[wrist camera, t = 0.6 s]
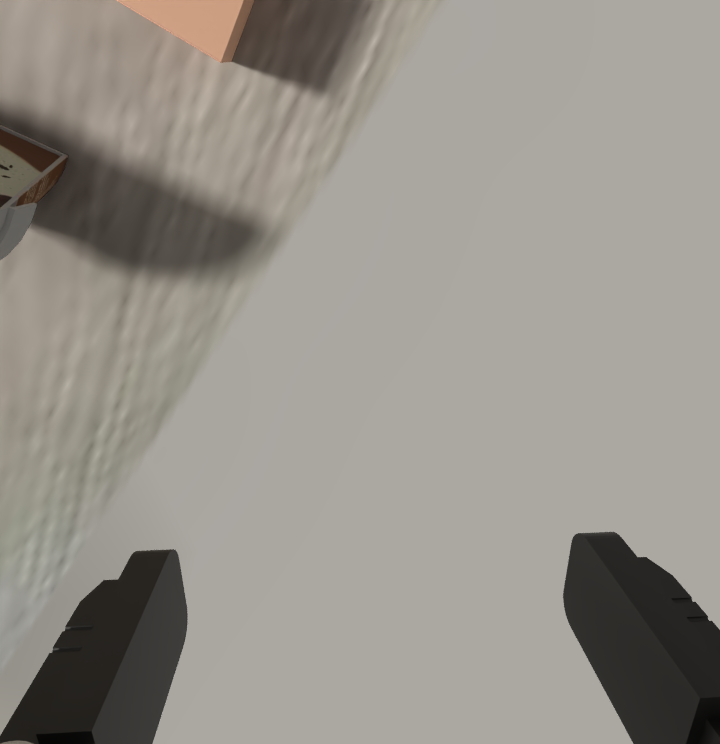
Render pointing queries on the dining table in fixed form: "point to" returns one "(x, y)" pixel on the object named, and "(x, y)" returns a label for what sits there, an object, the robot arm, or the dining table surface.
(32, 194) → the food container
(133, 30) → the dining table surface
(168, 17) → the terracotta cube
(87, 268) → the dining table surface
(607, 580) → the robot arm
